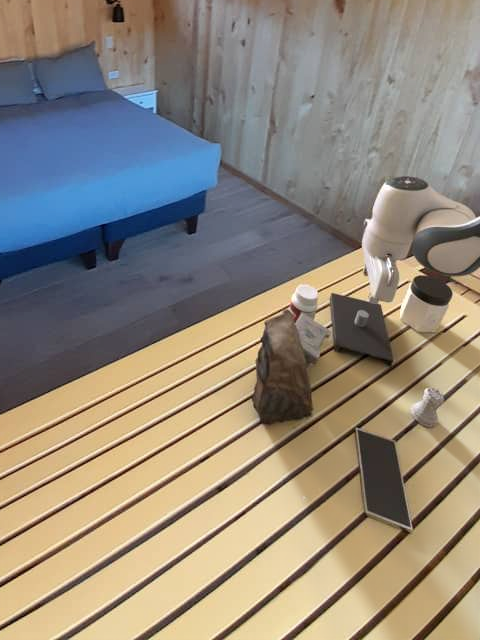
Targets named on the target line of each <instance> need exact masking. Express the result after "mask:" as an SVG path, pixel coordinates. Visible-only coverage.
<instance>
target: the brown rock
mask: <svg viewBox="0 0 480 640" xmlns="http://www.w3.org/2000/svg"><path fill="white" fill-rule="evenodd" d="M259 339H260V341H261V346H260V348H259V349H258V352H257V357H256V359H255V360H254V361H255V374H256V382H255V384H254V387H253V389H254V390H253V396H252V397H251V400H252V401H251V402H252V404H253V408H254V409H255V410H256V412H257V414H258V417H259V421H260V423H261V424H263V425H267V426H269V425H274V424H276V423H280V422H281V423H280V424H282V422H283V423H285V422H290V421H301V420H304V419H306V418H309V416H310V417H312V416H313V411H314V409H315V408H314V404H313V396H312V394H313V390H312V386H311V380H310V375H309V371H308V370H309V368H308V369H307V365H306V359H305V354H304V350H303V347H302V344H301V341H300V337H299V334H298V330H297V327H296V325H295V322H294V319H293V316H292V314H291V312H290V311H289V308H286V309H284V310H283V311H282V313H281V314H278V315H275V316H273V317H271V318H269V319H267V320H265V321H264V330H263V332H262V336H261V337H260V338H259ZM311 415H312V416H311ZM305 417H306V418H305ZM284 421H285V422H284ZM275 422H276V423H275Z"/></svg>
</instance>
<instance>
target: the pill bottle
mask: <svg viewBox="0 0 480 640" xmlns="http://www.w3.org/2000/svg"><path fill="white" fill-rule="evenodd" d="M318 299H319V292H318V290H317V289H316V288H315V287H314V286H311V285H309V284H299V285H297V287H296V289H295V292H294V293H293V294H292V296H291V300H290V303H289V307H288V310H289V311H290V312H291V314H292V316H293V319H294V322H295V323H296V322H297V320H298V318H299V317H300V315H301V314H305V315H306V316H308V317H309V318H311V319H313V320H314V321H315V318H316V314H317V310H318V307H319V303H318V301H319V300H318Z"/></svg>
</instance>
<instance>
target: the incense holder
mask: <svg viewBox="0 0 480 640" xmlns="http://www.w3.org/2000/svg"><path fill="white" fill-rule="evenodd" d="M295 325H296V327H297V330H298V334H299V337H300V341H301V344H302V347H303V350H304V354H305V359H306V365H307V369H308V370H309V368H310V366H311V365H314V366H315V365H316V364H317V363H318V361H319V359H320V357H321V355H320V351H319V350H320V348H321V346H322V345H323V342H324V340H325V339H329V338H330V337H331V335H332V334H333V331H332V330H330V329H329V328H327V327H326V326H324V325H323V324H321V323H319V322H318V321H316V320H315V319H314V320H313V319H311V318H309V317H308V316H306V315H305V314H301V315H300V317H299V318H298V320H297V322H296V323H295Z"/></svg>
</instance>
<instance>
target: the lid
mask: <svg viewBox="0 0 480 640" xmlns="http://www.w3.org/2000/svg"><path fill="white" fill-rule="evenodd" d="M329 308H330V320H331V332H332V341H333V342H332V343H333V351H334V352H335V353H337V352H338V348H342V349H345V350H346V349H347V350H350V351H352V352H357V353H359V354H360V353H361V354H364V355H368V356H372V357H375V358H378V359H382V360H386V361H387V366H388V367H389V368H392V366H393V363H394V362H395V359H394V355H393V351H392V346H391V342H390V337H389V334H388V329H387V325H386V321H385V316H384V312H383V307H382V304H381V303H378V304H372V303H370V302H369V300H368V301H367V300H363V299H359V298H356V297H355V298H354V297H351V296H347V295H343V294H338V293H334V292H331V293H330V296H329Z"/></svg>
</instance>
